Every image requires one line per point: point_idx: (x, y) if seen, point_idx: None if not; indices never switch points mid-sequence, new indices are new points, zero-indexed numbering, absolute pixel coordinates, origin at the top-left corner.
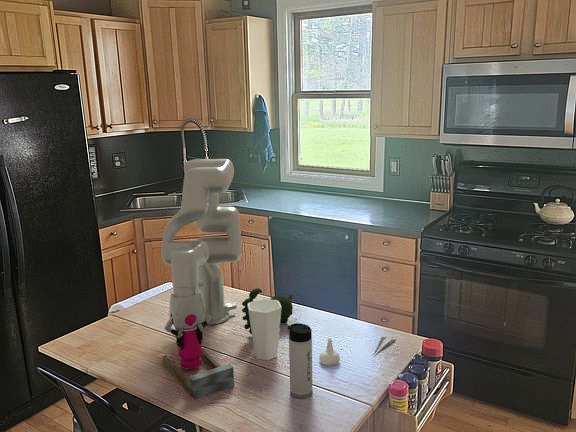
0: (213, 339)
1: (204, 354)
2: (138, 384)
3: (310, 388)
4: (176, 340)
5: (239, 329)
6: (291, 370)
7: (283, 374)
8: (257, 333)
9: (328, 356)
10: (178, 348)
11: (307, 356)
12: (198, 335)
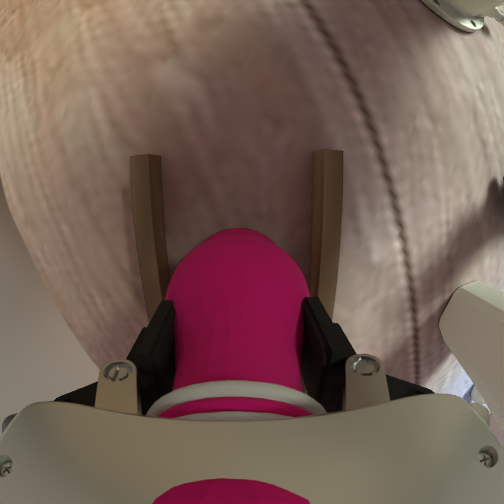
0: (414, 93)
1: (321, 260)
2: (48, 265)
3: None
4: (134, 349)
5: (490, 107)
6: None
7: None
8: (484, 390)
9: (481, 403)
10: (167, 295)
11: None
12: (308, 387)
